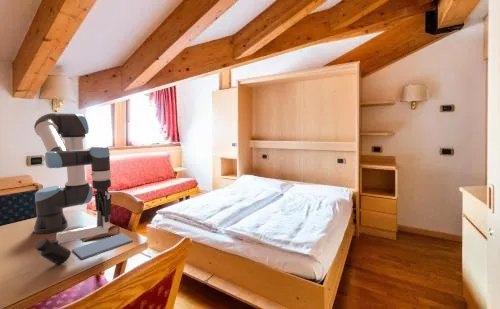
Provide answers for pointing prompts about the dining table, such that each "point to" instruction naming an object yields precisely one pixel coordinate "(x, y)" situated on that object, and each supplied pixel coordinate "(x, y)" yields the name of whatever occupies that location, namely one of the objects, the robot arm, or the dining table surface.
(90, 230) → the grey mallet
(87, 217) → the dining table surface
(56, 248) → the supplement bottle
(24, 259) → the dining table surface
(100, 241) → the mat
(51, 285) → the dining table surface
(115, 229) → the sunglasses case
